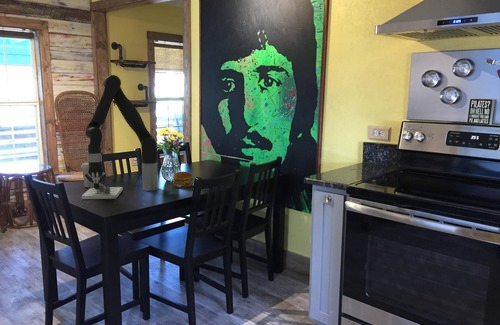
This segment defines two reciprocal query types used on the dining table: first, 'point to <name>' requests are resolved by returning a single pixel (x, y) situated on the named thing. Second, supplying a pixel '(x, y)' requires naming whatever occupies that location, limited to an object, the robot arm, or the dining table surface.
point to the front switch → (107, 190)
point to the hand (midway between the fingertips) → (96, 189)
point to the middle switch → (102, 187)
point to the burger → (182, 180)
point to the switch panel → (102, 193)
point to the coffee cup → (85, 170)
